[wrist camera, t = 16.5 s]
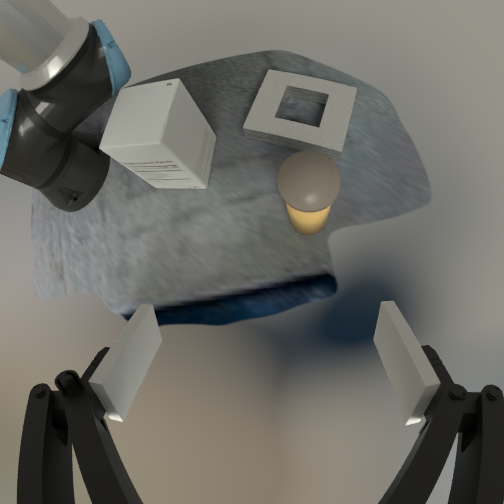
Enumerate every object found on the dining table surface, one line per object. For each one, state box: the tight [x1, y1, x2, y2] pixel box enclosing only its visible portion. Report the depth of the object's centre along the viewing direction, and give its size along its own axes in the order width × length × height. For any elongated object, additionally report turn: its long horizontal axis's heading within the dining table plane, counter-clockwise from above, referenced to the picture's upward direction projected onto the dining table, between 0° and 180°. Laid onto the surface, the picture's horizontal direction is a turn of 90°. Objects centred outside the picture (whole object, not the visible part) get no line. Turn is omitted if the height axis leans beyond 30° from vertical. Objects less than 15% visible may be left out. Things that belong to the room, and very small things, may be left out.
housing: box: [243, 70, 357, 162], centre depth 38 cm, size 14×12×3 cm
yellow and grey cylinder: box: [277, 151, 341, 235], centre depth 31 cm, size 6×6×13 cm
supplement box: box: [99, 78, 216, 189], centre depth 35 cm, size 9×9×15 cm
